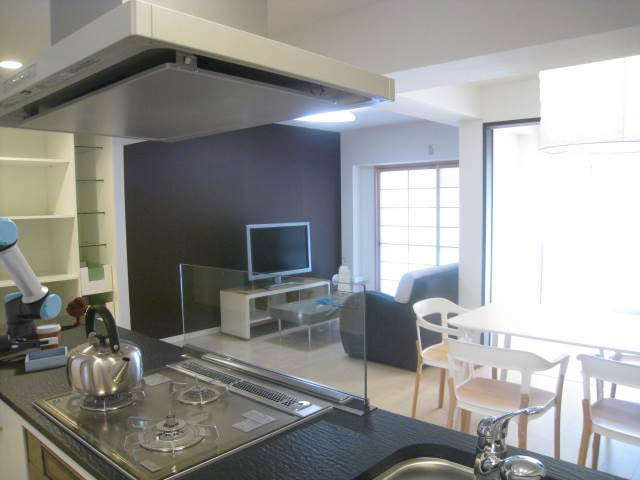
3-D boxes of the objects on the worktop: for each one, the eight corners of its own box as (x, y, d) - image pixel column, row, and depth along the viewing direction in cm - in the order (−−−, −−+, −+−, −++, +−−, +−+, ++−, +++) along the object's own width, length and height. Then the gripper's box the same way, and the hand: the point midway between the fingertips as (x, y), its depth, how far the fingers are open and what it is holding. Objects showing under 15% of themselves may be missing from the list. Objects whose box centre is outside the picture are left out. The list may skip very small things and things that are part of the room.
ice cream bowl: (86, 321, 274) (84, 294, 273) (92, 324, 265) (90, 296, 264) (65, 325, 267) (63, 297, 266) (70, 328, 259) (68, 299, 258)
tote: (27, 362, 204) (26, 352, 203) (67, 355, 211) (66, 346, 210) (25, 372, 191) (24, 362, 191) (68, 365, 198) (67, 355, 197)
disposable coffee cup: (52, 357, 209) (49, 329, 208) (32, 357, 211) (30, 329, 210) (68, 350, 218) (65, 323, 217) (49, 350, 220) (46, 323, 219)
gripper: (2, 346, 217) (58, 338, 227) (-3, 362, 195) (58, 352, 205) (1, 329, 216) (56, 322, 226) (-5, 343, 194) (57, 334, 204)
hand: (57, 336), depth 215 cm, fingers open, 13 cm apart
